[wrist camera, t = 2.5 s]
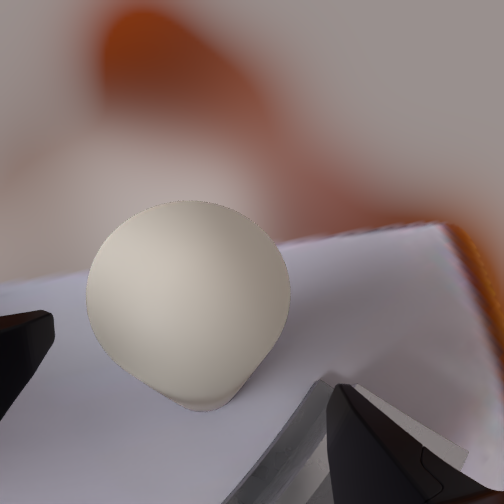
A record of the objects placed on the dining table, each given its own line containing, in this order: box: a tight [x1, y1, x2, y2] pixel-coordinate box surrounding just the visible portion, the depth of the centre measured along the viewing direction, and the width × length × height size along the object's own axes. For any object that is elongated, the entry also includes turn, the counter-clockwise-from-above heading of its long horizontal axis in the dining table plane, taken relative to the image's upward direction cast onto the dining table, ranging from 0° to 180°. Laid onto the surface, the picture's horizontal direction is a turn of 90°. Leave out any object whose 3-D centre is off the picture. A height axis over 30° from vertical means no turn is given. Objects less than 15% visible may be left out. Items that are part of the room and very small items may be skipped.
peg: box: [86, 201, 290, 412], centre depth 12 cm, size 4×4×12 cm
